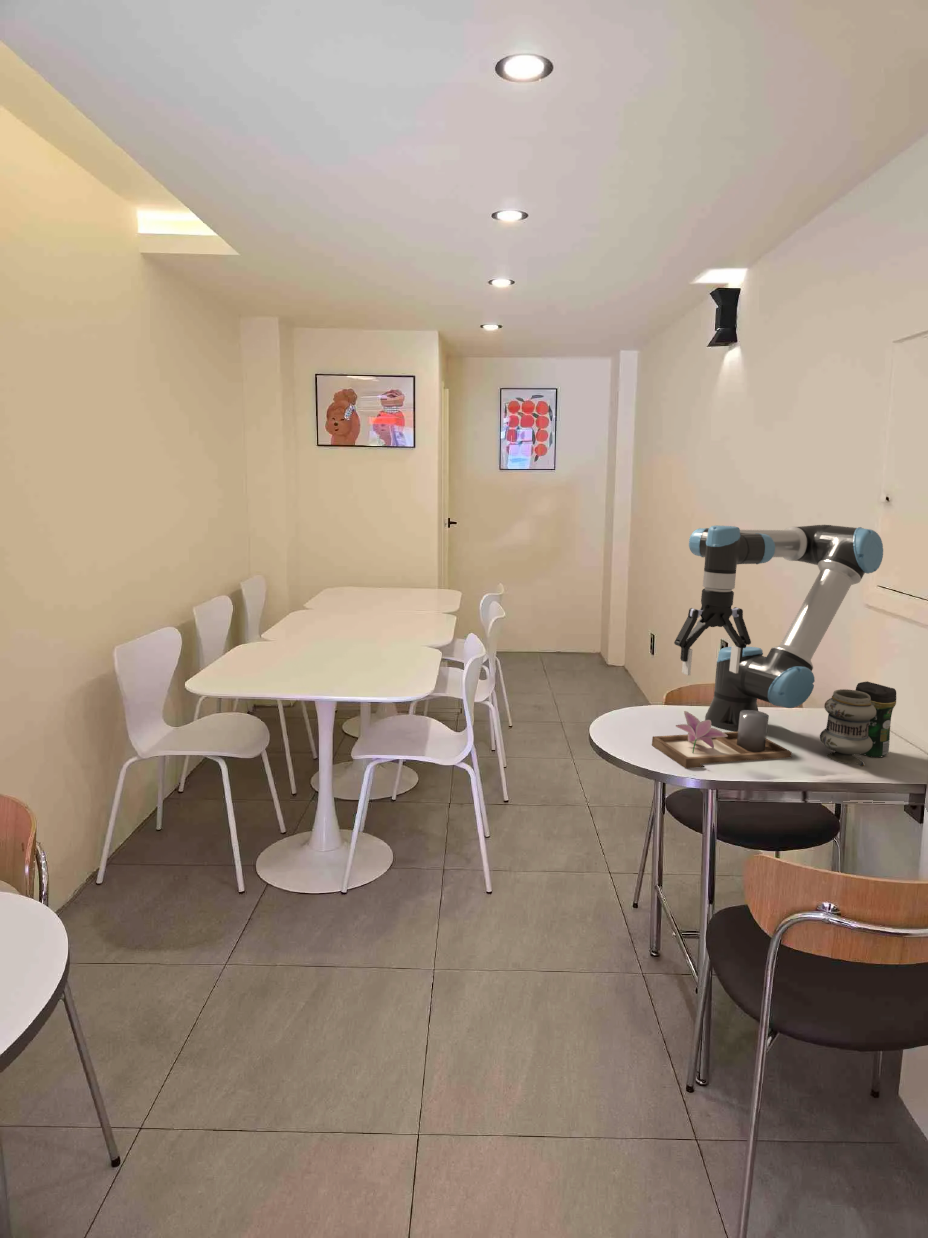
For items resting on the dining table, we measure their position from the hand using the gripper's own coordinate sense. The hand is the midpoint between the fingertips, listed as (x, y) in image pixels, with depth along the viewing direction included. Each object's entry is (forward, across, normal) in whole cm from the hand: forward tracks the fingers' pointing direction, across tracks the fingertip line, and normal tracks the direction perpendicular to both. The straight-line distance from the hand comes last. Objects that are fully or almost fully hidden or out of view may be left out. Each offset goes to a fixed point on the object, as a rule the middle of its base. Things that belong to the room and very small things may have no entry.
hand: (710, 673), depth 200 cm
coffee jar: (+22, -46, +6) cm, 51 cm away
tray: (+21, -5, 0) cm, 22 cm away
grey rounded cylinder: (+20, -14, 0) cm, 25 cm away
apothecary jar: (+22, -34, +11) cm, 42 cm away
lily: (+20, +1, -1) cm, 20 cm away
